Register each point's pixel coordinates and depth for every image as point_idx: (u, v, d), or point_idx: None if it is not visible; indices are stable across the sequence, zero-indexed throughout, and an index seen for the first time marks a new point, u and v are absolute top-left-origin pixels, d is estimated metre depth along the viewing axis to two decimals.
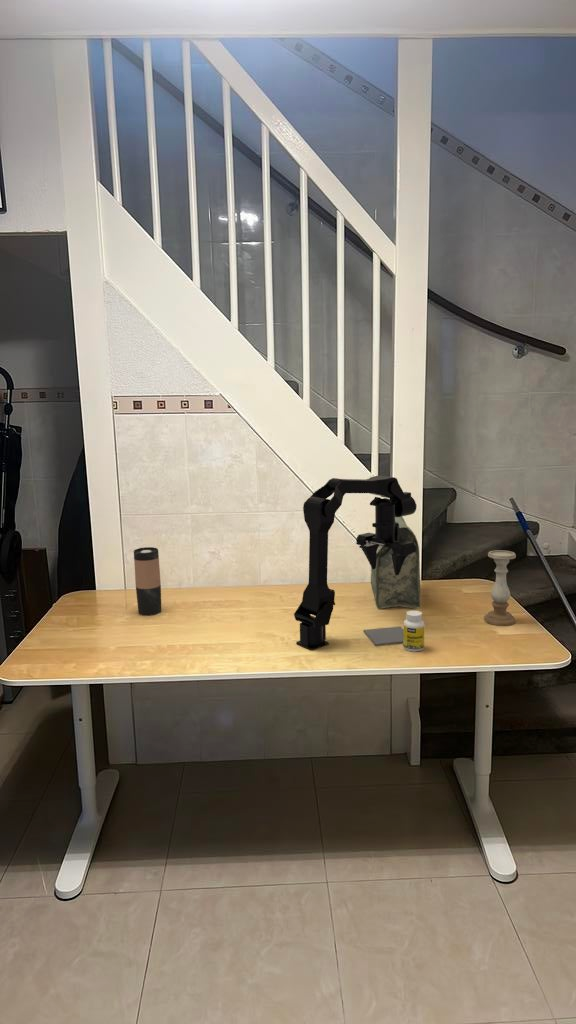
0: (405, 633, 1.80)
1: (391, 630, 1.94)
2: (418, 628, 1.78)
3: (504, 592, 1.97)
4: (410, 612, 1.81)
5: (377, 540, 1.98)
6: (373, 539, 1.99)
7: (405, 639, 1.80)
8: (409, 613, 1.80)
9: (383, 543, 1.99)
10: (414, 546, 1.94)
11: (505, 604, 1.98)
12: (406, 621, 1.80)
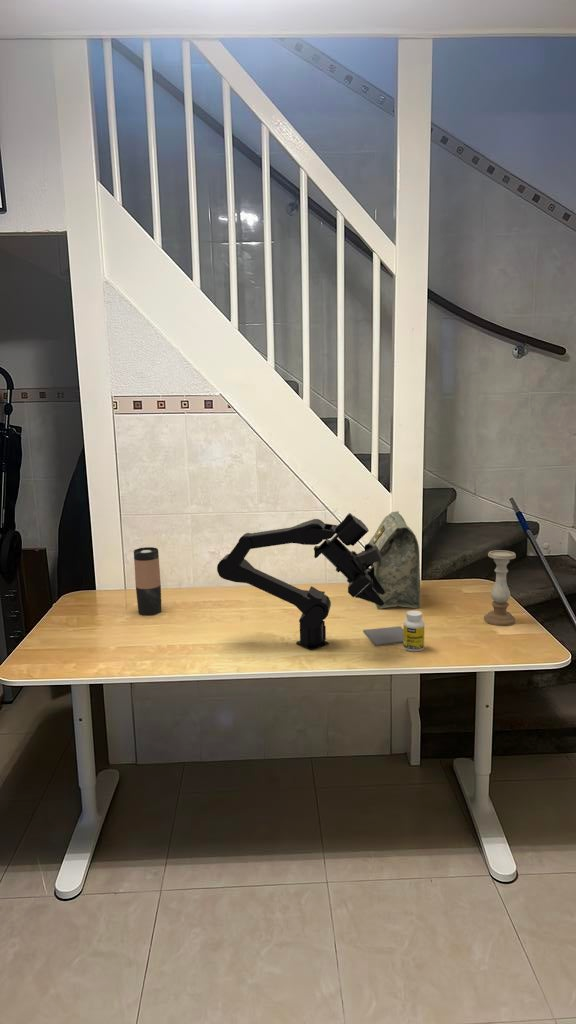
0: (405, 633, 1.80)
1: (391, 630, 1.94)
2: (418, 628, 1.78)
3: (504, 592, 1.97)
4: (410, 612, 1.81)
5: None
6: None
7: (405, 639, 1.80)
8: (409, 613, 1.80)
9: None
10: (362, 580, 1.71)
11: (505, 604, 1.98)
12: (406, 621, 1.80)
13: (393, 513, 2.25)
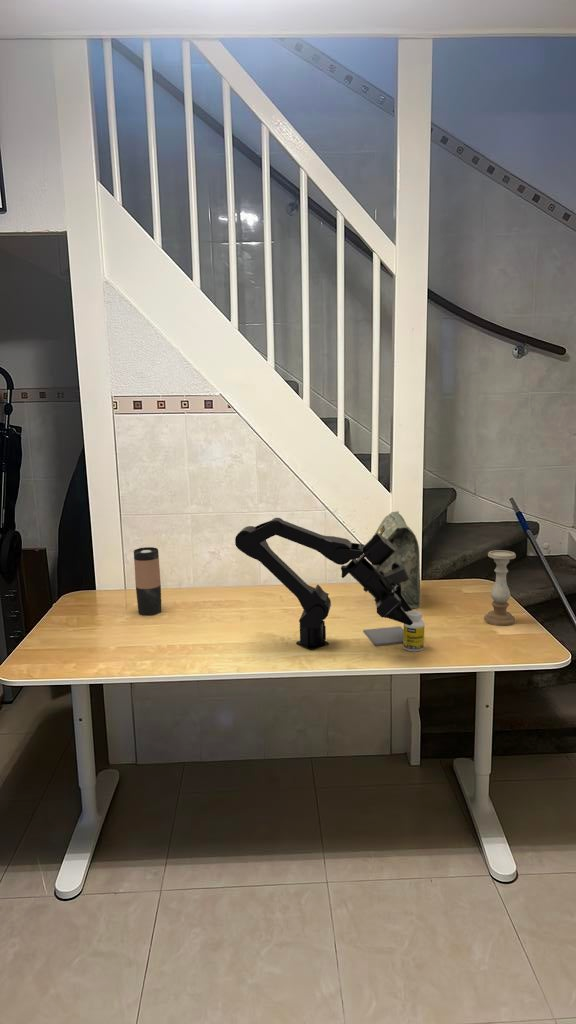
0: (405, 633, 1.80)
1: (391, 630, 1.94)
2: (418, 628, 1.78)
3: (504, 592, 1.97)
4: (410, 612, 1.81)
5: None
6: None
7: (405, 639, 1.80)
8: (409, 613, 1.80)
9: None
10: (391, 600, 1.71)
11: (505, 604, 1.98)
12: None
13: (393, 513, 2.25)
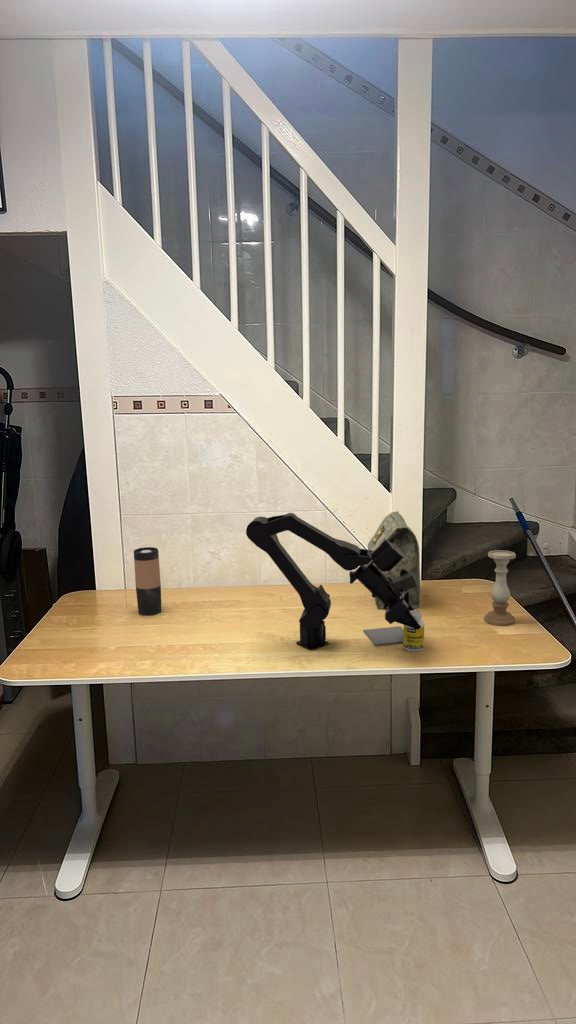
0: (405, 633, 1.80)
1: (391, 630, 1.94)
2: None
3: (504, 592, 1.97)
4: None
5: None
6: None
7: (405, 639, 1.80)
8: None
9: None
10: (400, 607, 1.71)
11: (505, 604, 1.98)
12: None
13: (393, 513, 2.25)
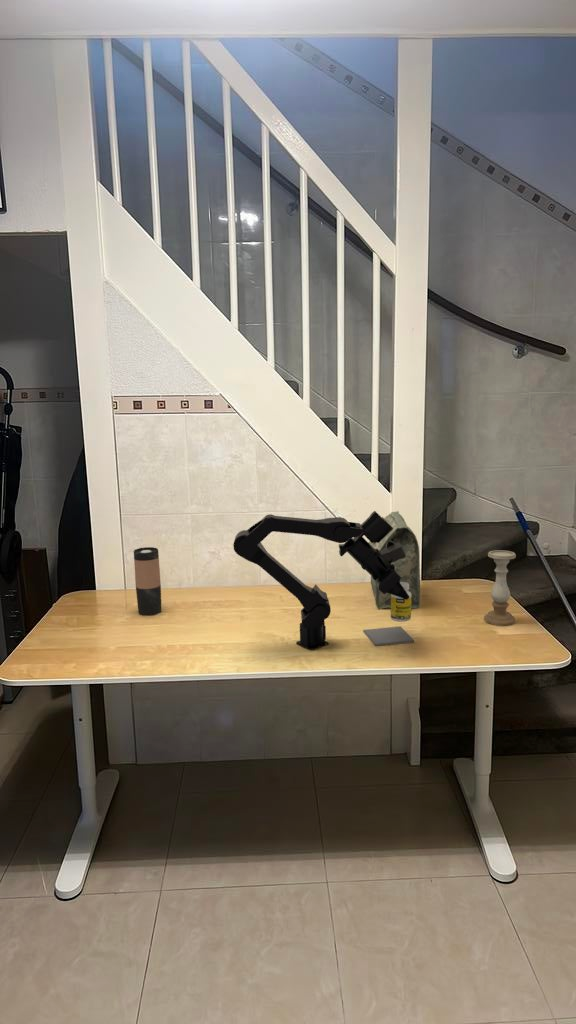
0: (393, 604, 1.83)
1: (391, 630, 1.94)
2: None
3: (504, 592, 1.97)
4: None
5: None
6: None
7: (393, 610, 1.83)
8: None
9: None
10: (394, 577, 1.74)
11: (505, 604, 1.98)
12: None
13: (393, 513, 2.25)
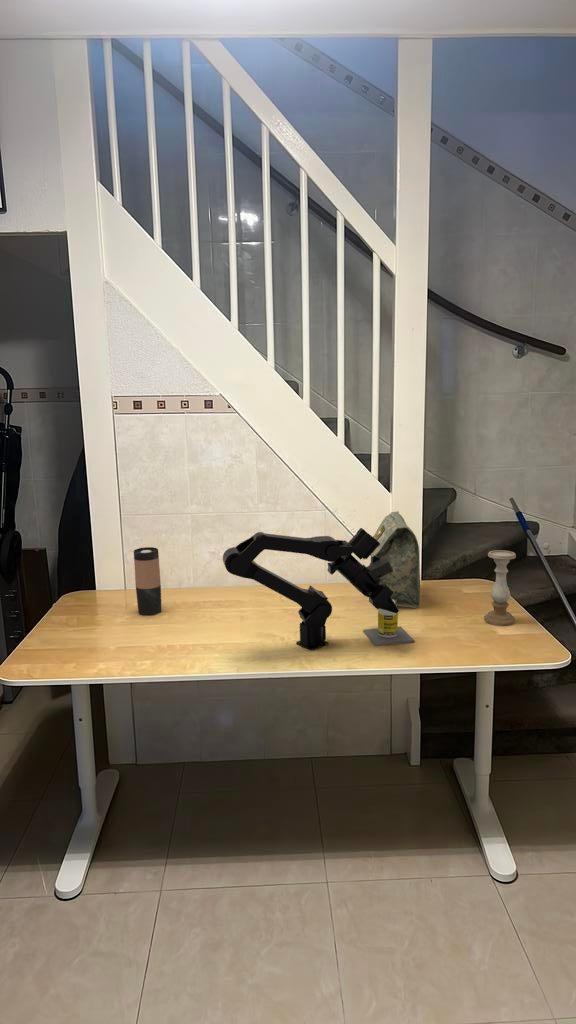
0: (381, 621, 1.88)
1: None
2: (394, 614, 1.87)
3: (504, 592, 1.97)
4: None
5: None
6: None
7: (382, 627, 1.88)
8: None
9: None
10: (387, 592, 1.78)
11: (505, 604, 1.98)
12: (381, 609, 1.88)
13: (393, 513, 2.25)
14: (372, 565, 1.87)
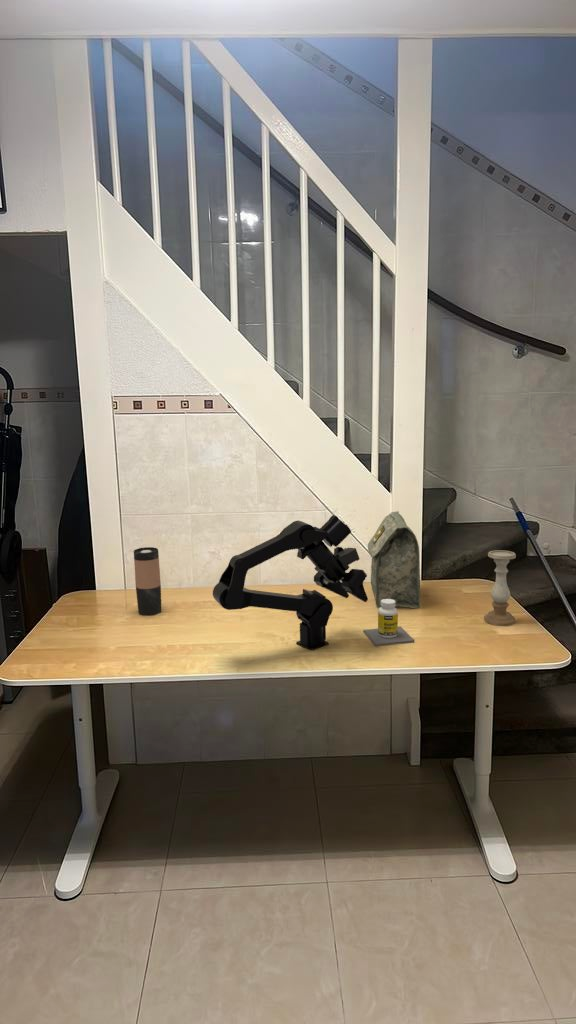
0: (382, 621, 1.88)
1: None
2: (394, 614, 1.87)
3: (504, 592, 1.97)
4: (384, 600, 1.89)
5: (328, 581, 1.85)
6: (325, 580, 1.86)
7: (382, 627, 1.88)
8: (384, 601, 1.88)
9: None
10: (361, 573, 1.78)
11: (505, 604, 1.98)
12: (381, 609, 1.88)
13: (393, 513, 2.25)
14: (338, 554, 1.87)
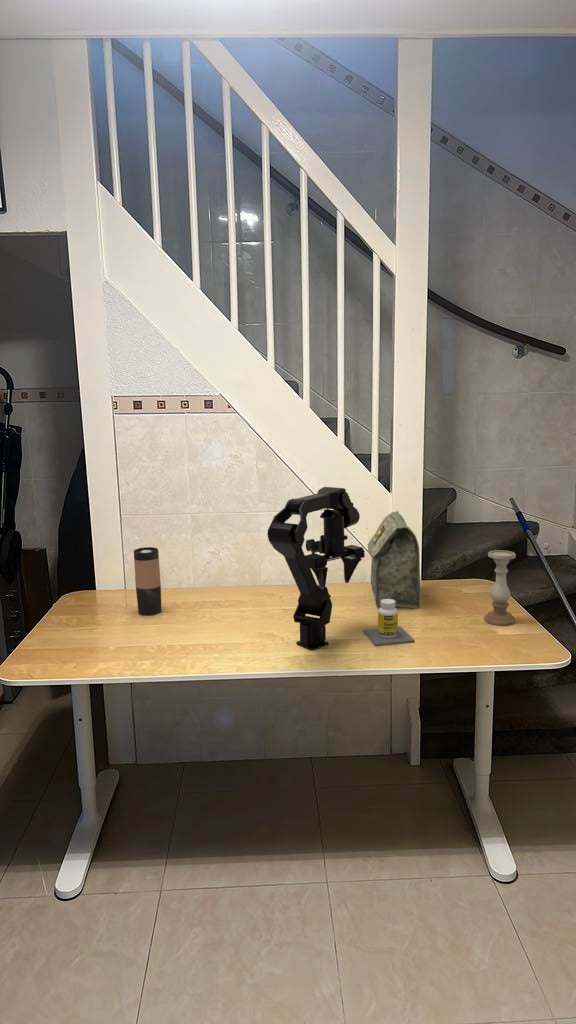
0: (382, 621, 1.88)
1: None
2: (394, 615, 1.87)
3: (504, 592, 1.97)
4: (384, 601, 1.89)
5: (340, 554, 1.90)
6: (336, 555, 1.89)
7: (382, 627, 1.88)
8: (384, 602, 1.88)
9: (337, 556, 1.92)
10: None
11: (505, 604, 1.98)
12: (381, 610, 1.88)
13: (393, 513, 2.25)
14: None
